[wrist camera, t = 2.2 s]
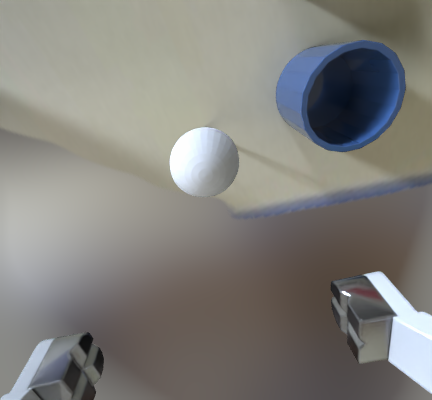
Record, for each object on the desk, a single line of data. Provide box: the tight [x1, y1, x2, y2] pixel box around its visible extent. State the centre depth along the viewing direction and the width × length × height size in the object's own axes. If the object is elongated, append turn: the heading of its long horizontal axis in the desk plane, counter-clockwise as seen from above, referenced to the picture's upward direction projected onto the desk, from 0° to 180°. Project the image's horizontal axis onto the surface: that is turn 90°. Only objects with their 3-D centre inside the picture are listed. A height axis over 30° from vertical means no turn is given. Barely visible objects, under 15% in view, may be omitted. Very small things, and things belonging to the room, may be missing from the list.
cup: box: [276, 40, 406, 152], centre depth 29 cm, size 10×10×9 cm
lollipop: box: [170, 127, 239, 197], centre depth 28 cm, size 6×6×15 cm
